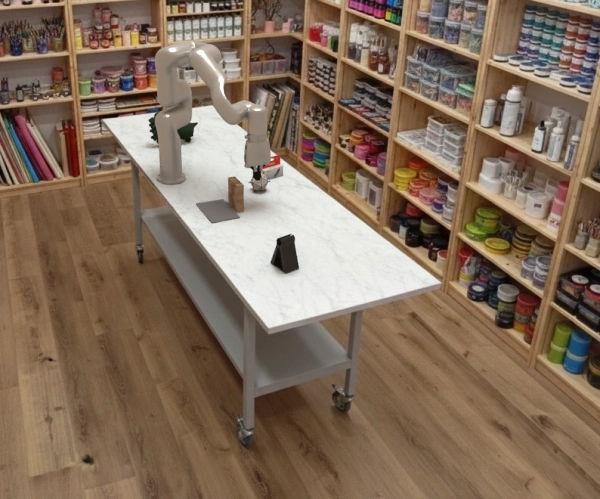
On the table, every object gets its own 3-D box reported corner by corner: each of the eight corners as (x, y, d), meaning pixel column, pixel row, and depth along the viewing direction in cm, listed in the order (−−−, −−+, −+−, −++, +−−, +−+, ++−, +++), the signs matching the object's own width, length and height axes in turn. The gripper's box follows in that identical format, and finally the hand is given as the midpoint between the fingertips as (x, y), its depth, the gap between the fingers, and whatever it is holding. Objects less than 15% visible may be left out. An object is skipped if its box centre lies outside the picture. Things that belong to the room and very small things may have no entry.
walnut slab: (228, 204, 291) (228, 177, 285) (234, 202, 292) (234, 176, 286) (236, 213, 284) (236, 186, 278) (243, 211, 285) (243, 184, 279)
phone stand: (270, 263, 251) (271, 233, 245) (283, 258, 254) (284, 229, 248) (285, 273, 245) (287, 244, 239) (299, 268, 248) (300, 239, 243)
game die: (261, 199, 304) (266, 188, 295) (244, 190, 304) (247, 179, 295) (270, 183, 308) (274, 172, 299) (252, 175, 308) (256, 163, 299)
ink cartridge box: (283, 175, 318) (284, 155, 314) (264, 181, 312) (264, 161, 307) (279, 174, 320) (280, 154, 315) (260, 179, 313) (261, 159, 309)
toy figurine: (158, 154, 337) (204, 141, 349) (152, 117, 327) (200, 105, 338) (149, 148, 344) (195, 135, 355) (144, 111, 333) (191, 99, 345)
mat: (195, 204, 289) (195, 203, 288) (223, 199, 294) (222, 198, 294) (211, 223, 275) (211, 222, 275) (240, 218, 280) (240, 217, 280)
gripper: (243, 142, 271) (243, 185, 280) (278, 137, 277) (277, 180, 286) (236, 136, 277) (236, 178, 286) (270, 131, 283) (269, 173, 292)
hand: (256, 179), depth 286 cm, fingers closed
